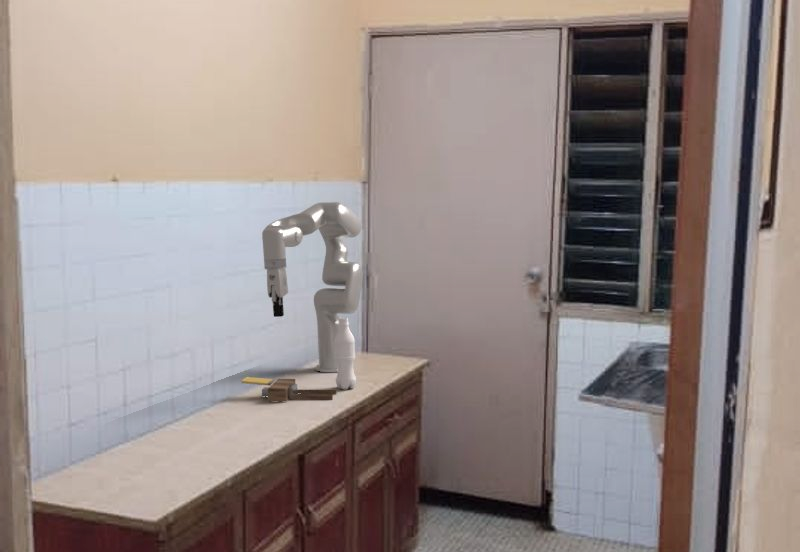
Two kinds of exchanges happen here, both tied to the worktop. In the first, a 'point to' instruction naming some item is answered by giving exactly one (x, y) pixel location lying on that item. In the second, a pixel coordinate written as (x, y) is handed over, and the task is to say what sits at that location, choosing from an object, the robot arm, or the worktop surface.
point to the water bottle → (345, 355)
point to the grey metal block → (291, 390)
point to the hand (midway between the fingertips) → (278, 316)
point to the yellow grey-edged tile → (258, 381)
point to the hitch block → (281, 391)
